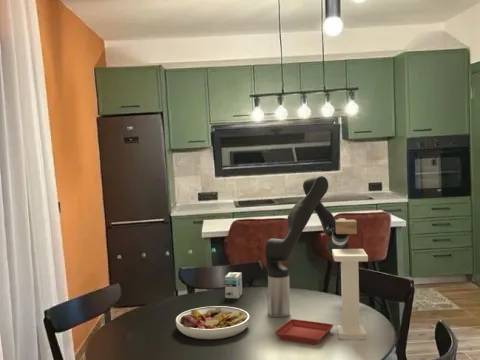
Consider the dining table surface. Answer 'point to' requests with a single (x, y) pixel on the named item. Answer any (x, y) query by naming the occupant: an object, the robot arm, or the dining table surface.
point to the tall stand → (350, 292)
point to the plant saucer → (303, 331)
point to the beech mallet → (346, 226)
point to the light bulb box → (233, 285)
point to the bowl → (212, 322)
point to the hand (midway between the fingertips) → (342, 220)
